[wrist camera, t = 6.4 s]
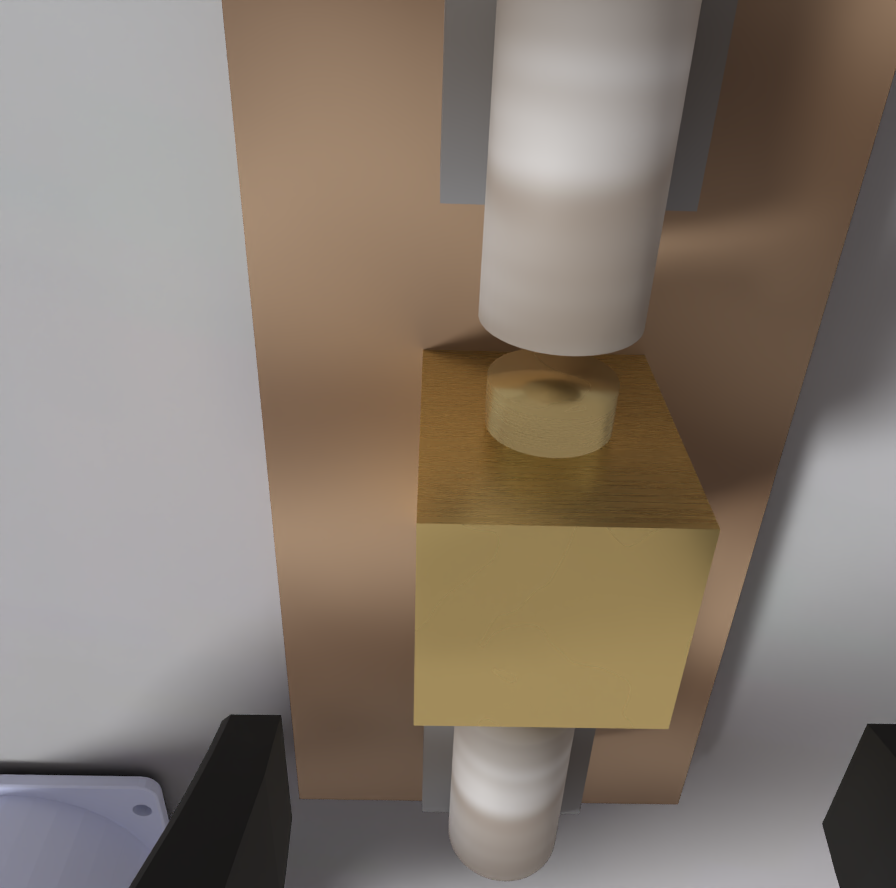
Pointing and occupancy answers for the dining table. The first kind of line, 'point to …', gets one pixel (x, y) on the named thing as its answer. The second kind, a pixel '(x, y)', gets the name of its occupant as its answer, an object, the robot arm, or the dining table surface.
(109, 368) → the dining table surface
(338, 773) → the shaft stand
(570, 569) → the block
